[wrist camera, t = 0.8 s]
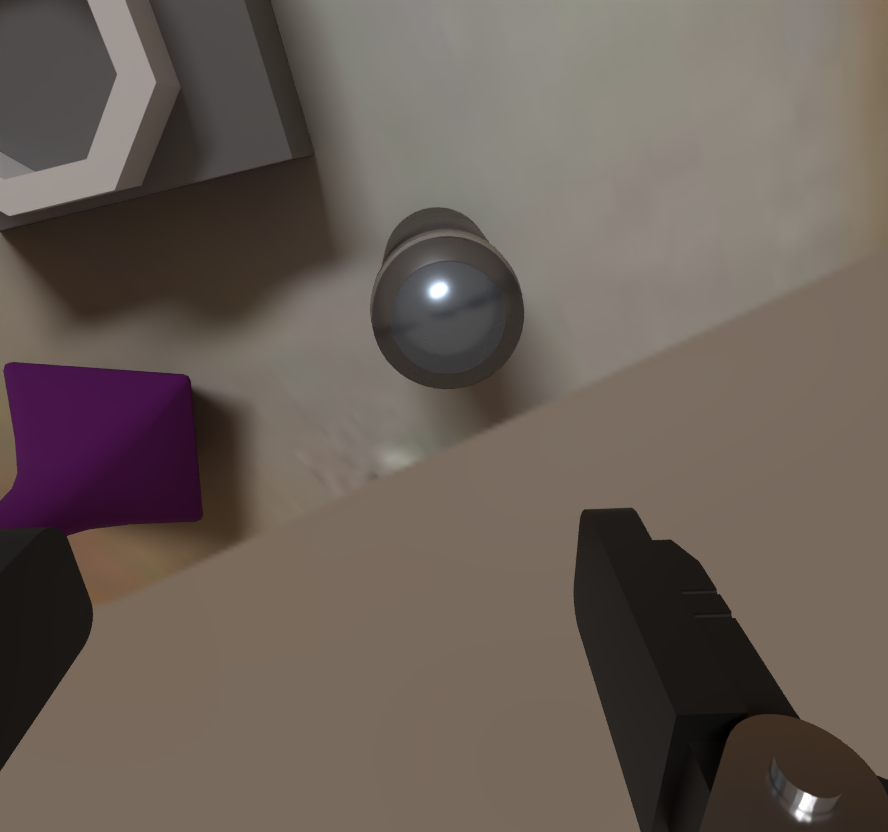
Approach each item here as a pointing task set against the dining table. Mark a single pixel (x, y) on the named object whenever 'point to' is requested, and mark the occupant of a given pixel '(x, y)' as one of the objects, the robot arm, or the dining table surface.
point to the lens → (445, 301)
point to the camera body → (137, 100)
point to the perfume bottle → (100, 448)
